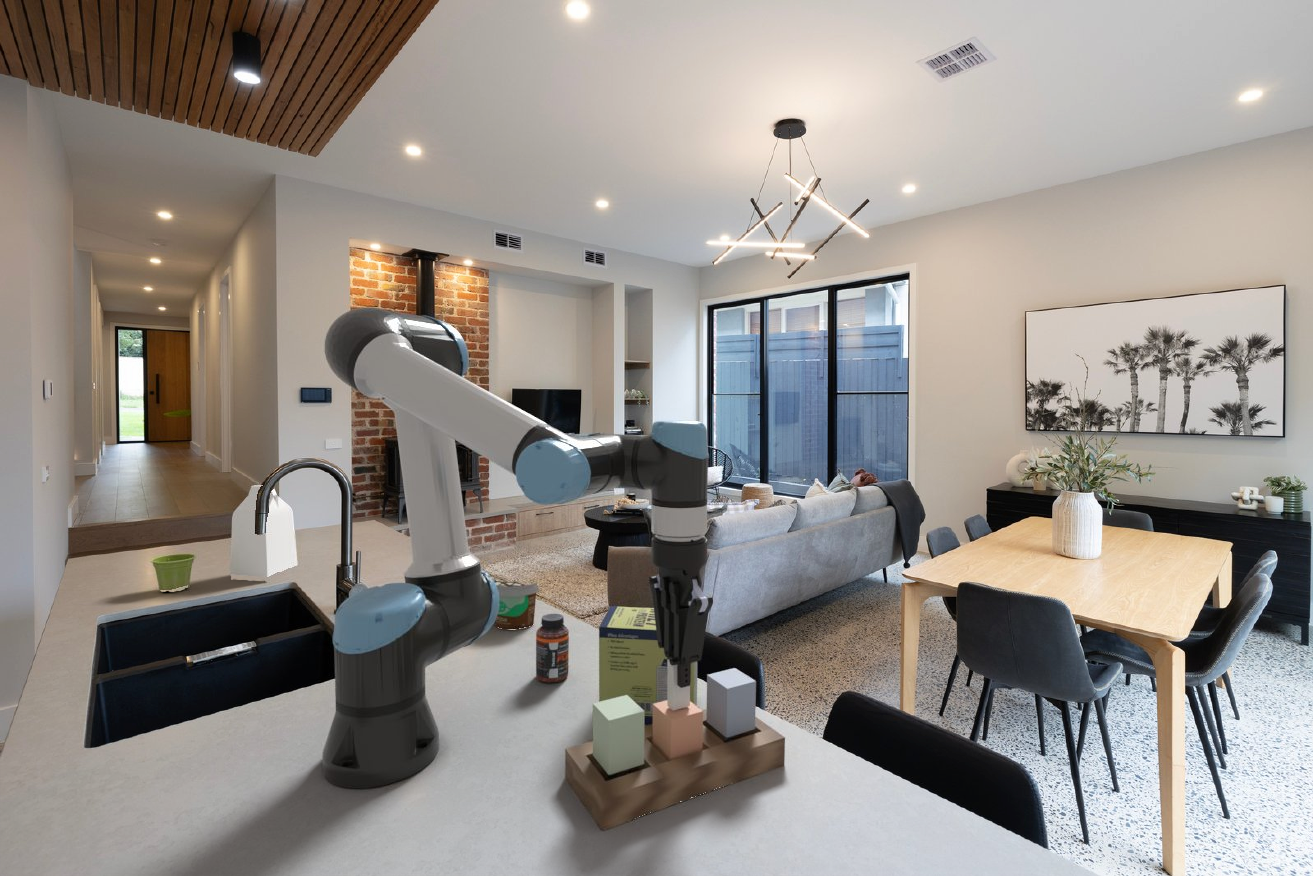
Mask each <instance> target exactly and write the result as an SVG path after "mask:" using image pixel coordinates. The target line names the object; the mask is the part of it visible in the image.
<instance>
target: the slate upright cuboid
mask: <svg viewBox="0 0 1313 876" xmlns="http://www.w3.org/2000/svg"><path fill="white" fill-rule="evenodd" d="M756 693H757V681H756V679H753V678H752V677H750V676H749V675H747V674H745V673H744V672H742V670H741V671H740V670H739V669H737V668H735V667H733V668H729V669H725V670H721V671H717V672H713V673H710V674H709V673H708V674H706V709H707V716H706V722H707V723H709V724H710V725H711V726H712V727H714V728H715V729H716V730H717V731H719V732H720V733H721V734H722V735H724V736H725V737H726V738H728V737H731V736H734V735H737V734H741V733H744V732H747V731H750V730H753V729H755V717H756V701H757V700H756V699H757V697H756V696H757V694H756Z"/></svg>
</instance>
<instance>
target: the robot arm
mask: <svg viewBox="0 0 1313 876" xmlns="http://www.w3.org/2000/svg"><path fill="white" fill-rule="evenodd" d="M324 355H325V360H326V362H327V363H328V367H329V368H330V370H331V371H332V373H334V375H336V377H337V378H339V380H341V382H343V383H345V384H346V385H348V387H350V388H352V389H354V390H355V391H357V392H359V393H361V394H362V395H364V397H365V396H366V397H368V398H370V399H381V400H382V404H383V405H385V407H388V408H390V410H392V412H393V413H394V421H395V428H396V435H397V443H398V444H397V445H398V451H399V459H400V468H401V476H402V483H403V492H404V500H405V507H406V515H407V523H408V524H407V525H408V531H409V539H410V546H411V556H412V562H411V563H410V565H409V566H408V568H407V569H406V570H405V571H404V573H403V574H404V582H392V583H385V584H384V585H381V586H378V585H376V586H375V585H374V586H373V587H372V586H371V587H369V588H366V589H363V590H361V591H358V592H356V593H354V594H352V595H351V596H349V597H347V598H346V599H345V600H344V601H343V602H342V603H340V605H339V606H338V608H337V609H336V612H335V615H334V628H333V633H332V644H333V653H334V690H335V711H334V716H333V719H332V723H331V725H330V729H329V732H328V735H327V738H326V740H325V744H324V747H323V750H322V756H321V760H322V761H321V763H322V774H323V775H322V776H323V777H324V778H325V779H326V780H327V781H328V782H329V783H331V784H333V785H335V786H337V787H342V788H348V789H369V788H377V787H382V786H385V785H390V784H394V783H396V782H399V781H402V780H405V779H407V778H408V777H411V776H414V775H415V774H416V773H418V772H420V771H422V770H423V769H425V768H426V767H427V766H428V765H429V764H431V763H432V761H433V760H434V759H435V758H436V756H437V755H438V752H439V749H440V738H439V737H440V733H439V727H438V725H437V723H436V720H435V716H434V715H433V712H432V709H431V707H430V704H429V701H428V699H427V695H426V668H427V667H428V666H430V665H431V664H433V663H436V662H438V661H439V660H441V659H443V658H445V657H448V655H449V656H450V655H451V654H453V653H454V652H456V651H459V650H461V649H462V648H466V647H468V646H470V645H472V644H473V643H475V642H477V640H479V638H481V637H483V636H484V635H485V634H486V633H487V632H488V631H489V630H490V629H491V628H492V626H493V625H495V623H494V622H495V620H496V617H497V614H498V610H499V594H498V590H497V587H496V584H495V582H494V581H493V580H491V579H492V578H490V577H491V576H490V574H489V573H487V571H485V570H483V569H482V567H481V561H480V559H479V558H478V557H477V556H476V555H474V554H473V553H472V552H470V550H469V543H468V541H469V540H468V535H467V533H468V532H467V527H466V519H465V511H464V502H463V494H462V488H461V487H462V485H461V479H460V470H459V464H458V462H459V461H458V453H457V447H456V446H457V445H456V442H458V443H460V444H462V445H463V446H465V448H468V449H470V450H472V451H473V452H475V453H476V454H478V455H480V456H482V457H484V459H487V460H488V461H490V462H492V463H494V464H495V465H497V466H498V467H500V468H502V469H504V470H505V471H506V472H509V473H510V474H512V475H514V476H515V478H516V482H517V484H518V487H519V488H520V489H521V491H522V492H523V495H524V496H525V497H526V498H527V499H528V500H530V501H532V502H533V503H537V504H538V505H545V506H548V505H549V506H550V505H560V504H561V505H563V504H567V503H571V502H572V501H575V500H577V499H581V498H584V497H588V496H591V495H595V494H598V493H602V492H605V491H609V490H612V489H613V490H614V489H627V490H629V489H630V490H643V491H644V490H645V491H647V490H650V491H651V503H650V504H651V506H650V507H651V512H650V513H651V526H650V527H651V528H650V529H651V530H650V531H651V533H652V534H653V536H652V538H651V562H652V564H653V565H654V566H656V567H658V570H657V571H658V573H657V575H654V576H652V575H651V576H649V577H648V583H649V586H650V590H651V594H652V603H653V608H654V614H655V623H656V632H657V641H658V646H659V648H663V649H664V654H665V656H666V657H667V706H668V707H669V708H670V709H671V710H673V711H674V710H677V709H681V708H685V707H688V706H690V683H691V679H690V678H691V676H690V675H691V663H693V662H697V663H698V662H701V660H702V656H703V651H704V644H705V638H706V633H707V632H706V631H707V625H708V619H709V618H708V617H709V613H710V611H711V609H712V606H713V603H714V600H713V597H712V596H711V595H707V596H705V593H704V592H703V591H702V579H701V575H700V574H701V573H700V570H701V569H702V568H703V566H705V565H706V564H707V562H708V539H707V537H706V536H705V534H706V533H707V532H708V484H709V483H708V482H709V481H708V479H709V476H708V475H709V459H710V454H709V450H708V449H709V447H708V446H709V445H708V430H707V427H706V425H705V423H703V422H701V421H697V420H657V421H656V420H655V422H653V423H652V426H651V431H650V433H649V434H642V435H640V434H639V435H637V434H620V433H617V434H616V433H605V432H592V433H582V434H578V435H577V436H576V437H573V436H570V435H568V434H567V433H564V432H563V431H561V430H559V429H557V428H555V427H553V426H551V425H550V424H548V423H546V422H545V421H543V420H541V419H539V418H538V417H535V416H534V415H532V414H531V413H528V412H526V411H525V410H524V409H523V410H522V409H521V408H519V407H517V406H516V405H514V404H512V403H510V402H508V401H506V400H505V399H503V398H501V397H499V396H497V395H495V394H494V393H492V392H490V391H488V390H486V389H485V388H483V387H481V386H479V385H477V384H475V383H474V382H471V380H468V379H467V378H465V377H466V376H465V374H466V373H467V372H468V370H469V364H470V363H469V362H470V361H469V359H470V357H469V356H470V355H469V350H468V347H467V343H466V341H465V340H464V338H463V336H462V335H461V333H460V332H459V331H458V330H457V329H456V328H454V327H453V326H452V325H451V324H449V323H448V322H446V321H443V320H441V319H437V318H434V317H432V316H428V315H424V314H422V315H417V314H411V313H405V312H399V311H394V310H388V309H384V308H380V307H378V308H377V307H372V306H371V307H369V306H367V307H358V308H355V309H351V310H348V311H347V312H344V313H343V314H342V315H340V316H338V317H337V318H336V319H335V320H334V321H333V322H332V324H331V325H330V326H329V329H328V330H327V333H326V335H325V339H324Z"/></svg>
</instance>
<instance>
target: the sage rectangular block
mask: <svg viewBox="0 0 1313 876" xmlns="http://www.w3.org/2000/svg"><path fill="white" fill-rule="evenodd" d="M644 713H645V711H644V710H643V709H642V708H641V707H640V706H638V705H637V704H636V703H635V702H634V701H633V700H632V699H631V698H630V697H629V696H628V695H624V696H620V697H617V698H613V699H609V700H605V701H601V702H599V701H597V702H593V703H592V741H593V756H594V757H595V759H596V760H597V761H598V762H599V764H600V765H601V766H602V767H603V769H604V770H605V771H606V772H607V774H608V775H611V774H614V773H617V772H620V771H624V770H627V769H630V768H633V767H636V766H639V765H643V764H644V726H645V725H644Z"/></svg>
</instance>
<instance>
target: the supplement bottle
mask: <svg viewBox="0 0 1313 876" xmlns="http://www.w3.org/2000/svg"><path fill="white" fill-rule="evenodd" d="M564 623H565V622H564V616H563V614H560V613H547V614H544V615H542V616H541V621H540V624H541V626H540V627H538V628H537V630H536V634H535V637H536V639H535V655H536V656H535V673H536V674H535V677H536V679H537V680H539V681H540V682H543V683H547V684H548V683H549V684H552V683H558V682H562V681H563V680H565V679H567V678H568V676H569V663H570V662H569V660H570V659H569V652H570V651H569V647H570V646H569V645H570V643H569V641H570V640H569V639H570V636H569V635H570V633H569V629H568V627H567V626H565V624H564Z"/></svg>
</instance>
